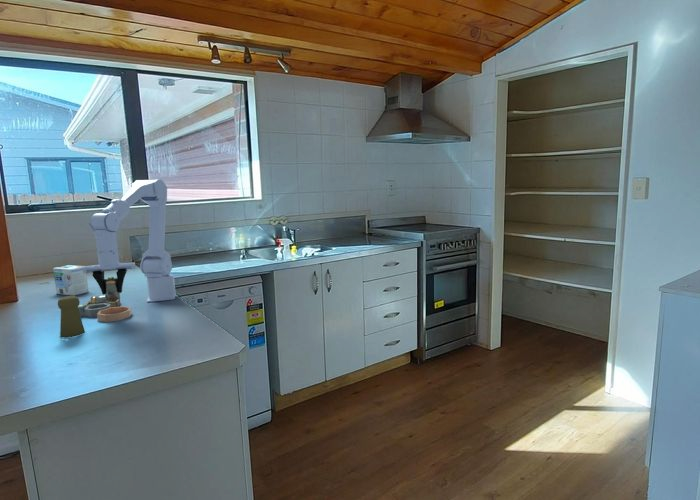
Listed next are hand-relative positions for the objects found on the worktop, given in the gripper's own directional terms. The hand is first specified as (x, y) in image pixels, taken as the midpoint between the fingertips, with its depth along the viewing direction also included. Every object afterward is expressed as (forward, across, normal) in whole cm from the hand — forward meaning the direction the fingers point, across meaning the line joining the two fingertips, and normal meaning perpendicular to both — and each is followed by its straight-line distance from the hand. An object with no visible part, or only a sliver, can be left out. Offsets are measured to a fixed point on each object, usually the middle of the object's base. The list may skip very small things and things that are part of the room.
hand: (112, 293), depth 136 cm
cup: (+8, 0, 0) cm, 8 cm away
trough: (+8, -6, +16) cm, 19 cm away
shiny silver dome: (+7, -6, +7) cm, 12 cm away
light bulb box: (+8, -22, +46) cm, 52 cm away
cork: (+8, -9, -13) cm, 18 cm away
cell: (+2, 0, 0) cm, 2 cm away
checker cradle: (+8, -6, +7) cm, 12 cm away
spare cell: (+8, -6, +16) cm, 19 cm away
